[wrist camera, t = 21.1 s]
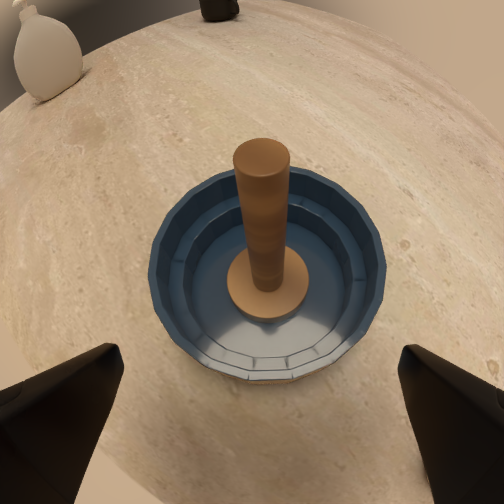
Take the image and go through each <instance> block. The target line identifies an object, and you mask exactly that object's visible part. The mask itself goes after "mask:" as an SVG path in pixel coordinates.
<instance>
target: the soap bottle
mask: <svg viewBox="0 0 504 504" xmlns="http://www.w3.org/2000/svg"><path fill="white" fill-rule="evenodd" d="M20 3H21V5H22V8H23V11H21V12H20V15H19V18H20V20H21V22H22V27H21V30H20V33H19V36H18V39H17V42H16V48H15V52H14V62H15V68H16V72H17V74H18V77H19V80H20V82H21V83H22V85H23V87H24V89H25V90H26V91H27V92H28V93H29V94H30V95H31V96H32V97H34V98H36V99H39V100H41V101H47V100H50V99H52V98H53V97H55V96H56V95H58V94H60V93H61V92H63V91H64V90H66V89H67V88H69V87H70V86H71V85H73V84H74V83H76V82H77V81H78V80H79V78H80V76H81V73H82V67H83V60H82V52H81V49H80V47H79V44H78V42H77V40H76V38H75V36H74V35H73V33H72V32H71V31H70V29H68V27H67V26H66V25H65V24H64V23H61V22H59V21H57V20H55V19H53V18H49V17H46V16H42V15H39V14H38V13H37V10H36V7H35V5H34V6H33V5H31V6H29V7H28V5H27V2H26V0H14V2H13V4H12V7H15V6H16V5H18V4H20Z"/></svg>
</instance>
